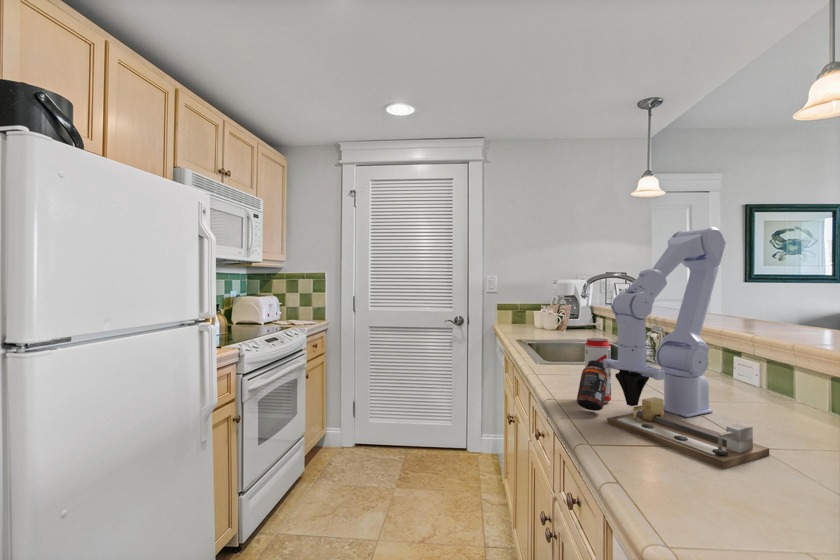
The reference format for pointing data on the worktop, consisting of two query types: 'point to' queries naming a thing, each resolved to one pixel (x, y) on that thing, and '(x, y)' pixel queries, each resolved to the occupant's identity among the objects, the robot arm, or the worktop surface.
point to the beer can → (599, 358)
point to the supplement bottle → (592, 386)
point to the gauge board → (695, 438)
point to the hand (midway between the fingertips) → (632, 405)
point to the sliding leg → (650, 408)
